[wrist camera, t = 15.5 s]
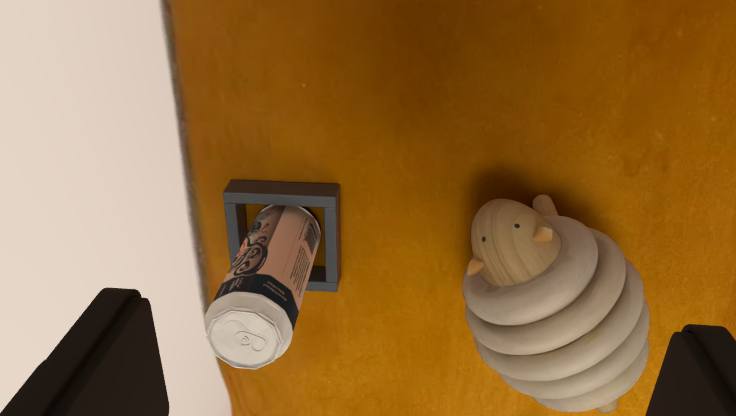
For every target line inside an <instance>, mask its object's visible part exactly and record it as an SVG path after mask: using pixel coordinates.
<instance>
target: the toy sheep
mask: <svg viewBox="0 0 736 416" xmlns="http://www.w3.org/2000/svg"><path fill="white" fill-rule="evenodd" d="M532 205H533V209H534V210H533V209H532V208H530V207H528V206H526V205H524V204H522V203H520V202H517V201H514V200H510V199H494V200H491V201H489V202H487V203H486V204H485V205H483V206H482V207H481V208H480V209H479V211H478V212H477V214H476V215H475V217H474V220H473V223H472V227H471V244H472V250H473V254H474V257H473V258H472V260H471V261H470V262H469V265H468V267H467V269H466V272H465V275H464V278H463V295H464V298H465V301H466V307H465V315H466V320H467V323H468V325H469V327H470V329H471V331H472V333H473V335H474V342H475V345H476V348H477V350H478V352H479V354H480V356H481V357H482V359H483V360H484V361H485V362H486V363H487V364H488V365H489V366H490V367H491V368H493V369H494V370H496V371H497V372H498V373H499V375H500V376H501V377H502V379H503V380H504V381H505V382H506V383H507V384H508V385H509V386H510V387H512V388H513V389H515V390H517V391H519V392H521V393H523V394H526V395H528V396H531V397H532V398H534V399H535V400H536V401H537V402H539V403H540V404H542V405H544V406H546V407H548V408H551V409H554V410H558V411H564V412H580V411H588V410H592V409H595V408H596V409H597V410H598V411H599V412H601V413H611V412H613V411H614V410H615V409H616V408H617V405H618V402H617V398H619V397H621V396H622V395H623V394H625V393H626V392H627V391H628V390H629V389H630V388H631V387H632V386H633V385H634V384H635V383H636V382H637V380H638V379H639V377H640V375H641V374H642V372H643V370H644V368H645V365H646V362H647V359H648V353H649V342H648V337H647V335H648V331H649V321H650V316H649V309H648V305H647V302H646V300H645V298H644V290H643V284H642V280H641V277H640V275H639V273H638V271H637V269H636V268H635V267H634V266H633V264H632V263H631V262H630V261H629V260H627V259H626V258H625V257H624V256H623V254H622V251H621V249H620V248H619V246H618V245H617V244H616V242H615V241H614V240H612V239H611V238H610V237H609V236H607V235H605V234H604V233H602V232H600V231H598V230H595V229H592V228H588V227H586V226H585V225H584V224H582V223H581V222H579V221H577V220H575V219H572V218H569V217H564V216H558V213H557V211H556V209H555V206H554V204H553V201H552V200H551V198H550V197H549V196H547V195H538V196H537V197H536V198H535V199H534V200H533V203H532Z"/></svg>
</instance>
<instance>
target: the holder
mask: <svg viewBox="0 0 736 416" xmlns="http://www.w3.org/2000/svg"><path fill="white" fill-rule="evenodd" d="M223 199H224V207H225V216H226V225H227V234H228V243H229V252H230V261H231V266H232V264H233V262H234V260H235V258H236V256H237V254H238V252H239V250H240V248H241V246H242V244H243V242H244V240H245V239H246V237H247V225H246V214H245V204H261V205H285V206H308V207H324V230H325V267H316V266H312V269H311V272H310V276H309V279H308V283H307V286H306V289H305V290H309V291H328V292H337V291H338V286H339V281H340V277H341V269H340V196H339V184H319V183H294V182H269V181H244V180H231V181H230V183H229V184H228V186H227V187H226V188H225V190H224V191H223Z"/></svg>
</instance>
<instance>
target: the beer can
mask: <svg viewBox="0 0 736 416" xmlns="http://www.w3.org/2000/svg"><path fill="white" fill-rule="evenodd" d="M320 240H321V232H320V228H319V226H318V223H317V221H316V220H315V218H314V217H313V216H312V215H311V214H310V213H309V212H308V211H307V210H306V209H304V208H302V207H300V206H285V205H270V206H268V207H266V208H264V209H263V210H262V211H261V212H259V213H258V215H257V217H256V219H255V221H254V223H253V225H252V227H251V229H250V231H249V233H248V235H247V237H246V239H245V240H244V242H243V244H242V246H241V248H240V250H239V252H238V254H237V256H236V258H235V260H234V262H233V264H232V266H231V268H230V269H229V271H228V273H227V275H226V277H225V279H224V281H223V283H222V285H221V287H220V289H219V291H218V293H217V295H216V297H215V298H214V300H213V302H212V304H211V305H210V307H209V309H208V311H207V313H206V317H205V330H206V333H207V339H208V341H209V344H210V346H211V348H212V350H213V352H214V354H215V355H216V356H217V357H219V358H220V359H222V360H223V361H225V362H226V363H228V364H229V365H231V366H233V367H237V368H247V369H258V368H260V367H262V366H264V365H267V364H269V363H271V362H273V361H274V360H275V359H276V358H278V357H280V356H281V355H282V354H283V353H284V352H285V351H286V350H287V348H288V347H289V345H290V343H291V339H292V335H293V330H294V327H295V323H296V320H297V317H298V313H299V310H300V306H301V303H302V300H303V296H304V293H305V289H306V286H307V283H308V279H309V276H310V272H311V269H312V266H313V262H314V259H315V255H316V252H317V249H318V246H319V243H320Z"/></svg>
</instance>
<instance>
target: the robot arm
mask: <svg viewBox="0 0 736 416" xmlns="http://www.w3.org/2000/svg"><path fill="white" fill-rule="evenodd" d="M168 415H169V402H168V396H167V391H166V385H165V380H164V375H163V369H162V364H161V358H160V354H159V348H158V343H157V337H156V332H155V327H154V321H153V316H152V311H151V305H150V302H149V300H148V299H147V298H142V297H141V294H140V292H139V291H138V290H135V289H121V288H120V289H119V288H104V289H102V290H101V291H100V292H99V294H98V295H97V296H96V297H95V299H94V300H93V301H92V302H91V304H90V305H89V306H88V307H87V309H86V310H85V311H84V312H83V314H82V315H81V316H80V317H79V319H78V320H77V321H76V322H75V324H74V325H73V326H72V327H71V329H70V330H69V331H68V332H67V334H66V335H65V336H64V337H63V339H62V340H61V341H60V342H59V344H58V345H57V346H56V347H55V349H54V350H53V351H52V353H51V354H50V355H49V356H48V358H47V359H46V360H44V361H43V362H42V363H41V364H40V365H39V366H38V367H37V368H36V370H35V371H34V372H33V373H32V375H31V376H30V377H29V378H28V379H27V381H26V382H25V383H24V385H23V386H22V387H21V388H20V389H19V391H18V392H17V393H16V394H15V396H14V397H13V398H12V399H11V401H10V402H9V403H8V404H7V406H6V407H5V408H4V409H3V411H2V412H1V413H0V416H168ZM645 416H736V341H735V339H734V338H733V337H732V335H731V334H730V332H729V331H728V330H727V329H726V328H724V327H722V326H710V325H694V324H689V325H686V326H685V327H684V328H683V329H682V331H681V332H675V333H674V334H673V335H672V337H671V339H670V342H669V345H668V348H667V351H666V354H665V358H664V361H663V364H662V367H661V370H660V373H659V376H658V379H657V382H656V385H655V388H654V391H653V394H652V397H651V400H650V403H649V406H648V409H647V412H646V415H645Z"/></svg>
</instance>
